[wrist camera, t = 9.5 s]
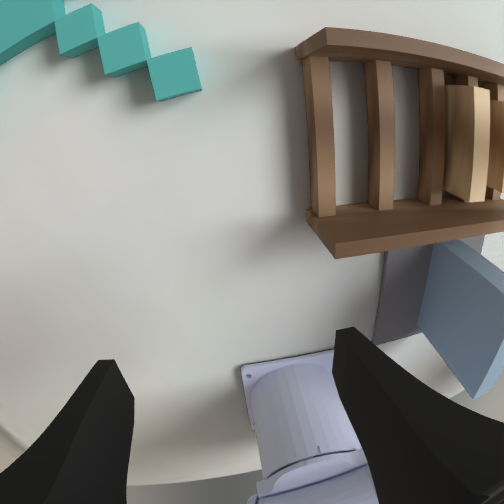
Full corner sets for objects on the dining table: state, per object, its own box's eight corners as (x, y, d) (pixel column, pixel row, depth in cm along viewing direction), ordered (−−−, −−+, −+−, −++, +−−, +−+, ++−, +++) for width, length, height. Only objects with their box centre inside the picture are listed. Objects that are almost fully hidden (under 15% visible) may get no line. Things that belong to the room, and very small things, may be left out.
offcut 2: (477, 176, 19) (513, 192, 16) (464, 176, 19) (501, 192, 16) (479, 99, 17) (518, 105, 13) (467, 97, 16) (506, 101, 13)
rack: (488, 202, 20) (531, 226, 16) (306, 221, 19) (335, 259, 15) (493, 75, 16) (541, 80, 11) (295, 47, 15) (325, 27, 10)
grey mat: (460, 316, 25) (462, 319, 25) (372, 342, 25) (374, 345, 24) (484, 218, 21) (487, 219, 20) (387, 230, 20) (390, 233, 20)
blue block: (434, 319, 24) (491, 389, 16) (416, 324, 24) (472, 399, 16) (453, 235, 21) (534, 297, 12) (434, 238, 20) (517, 305, 12)
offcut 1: (447, 183, 19) (484, 201, 16) (432, 184, 19) (469, 202, 16) (449, 87, 16) (489, 89, 13) (433, 84, 16) (473, 86, 12)
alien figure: (202, 90, 16) (152, -133, 7) (200, 88, 14) (148, -149, 5) (-45, 198, 15) (-67, -9, 6) (-62, 207, 13) (-82, -12, 4)
